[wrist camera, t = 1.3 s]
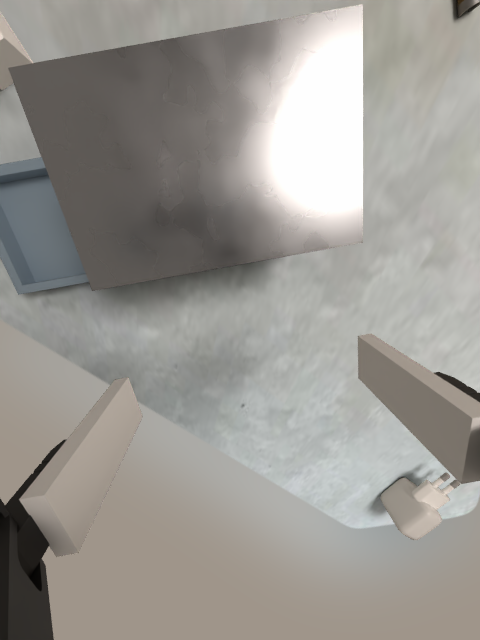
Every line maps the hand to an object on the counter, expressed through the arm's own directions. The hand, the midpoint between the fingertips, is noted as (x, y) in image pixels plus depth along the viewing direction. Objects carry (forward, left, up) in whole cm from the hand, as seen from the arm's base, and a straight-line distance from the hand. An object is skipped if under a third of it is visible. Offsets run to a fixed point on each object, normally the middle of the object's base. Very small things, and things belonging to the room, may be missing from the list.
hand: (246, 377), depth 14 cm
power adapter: (+35, +23, -16) cm, 45 cm away
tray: (-11, -16, -16) cm, 25 cm away
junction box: (-11, 0, -16) cm, 19 cm away
